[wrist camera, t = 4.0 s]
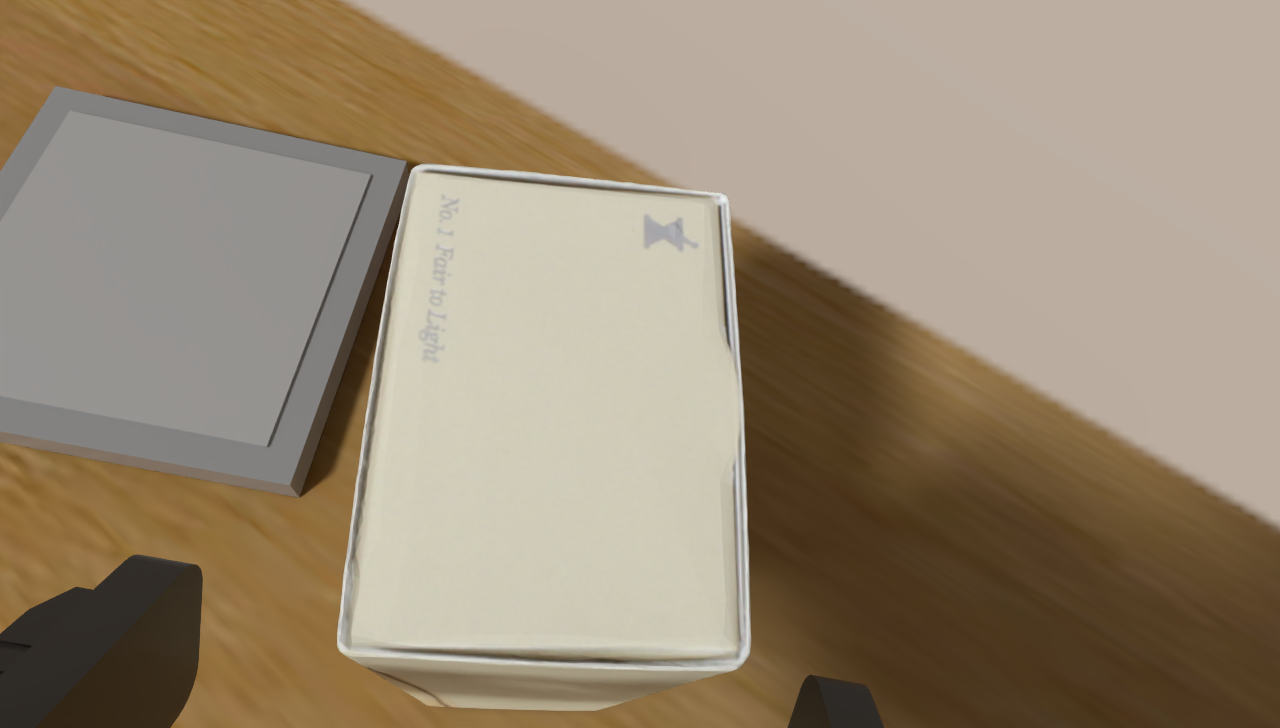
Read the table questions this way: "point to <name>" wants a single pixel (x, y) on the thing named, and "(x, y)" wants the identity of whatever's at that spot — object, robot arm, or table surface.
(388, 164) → the plate
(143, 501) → the table surface
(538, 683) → the skincare box
